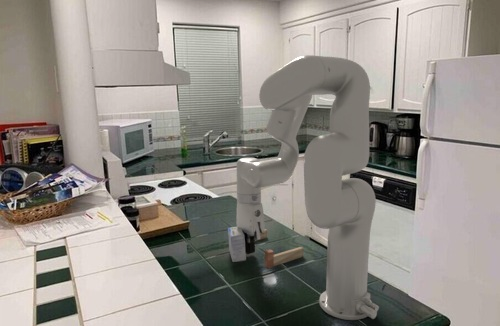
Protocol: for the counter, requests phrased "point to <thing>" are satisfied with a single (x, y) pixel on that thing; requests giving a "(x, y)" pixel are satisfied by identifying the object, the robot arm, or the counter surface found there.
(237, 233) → the medicine box
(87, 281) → the counter surface
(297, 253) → the channel
